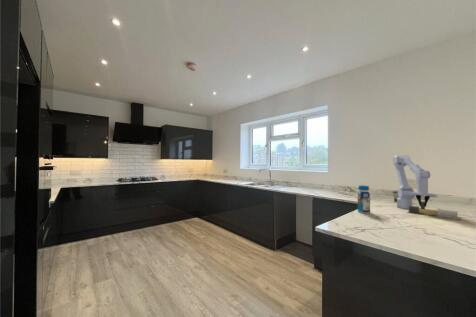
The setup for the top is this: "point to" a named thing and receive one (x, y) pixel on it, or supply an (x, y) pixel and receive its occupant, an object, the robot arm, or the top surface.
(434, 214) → the base board
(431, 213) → the inner sliding bolt
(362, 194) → the beverage bottle
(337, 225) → the top surface
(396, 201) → the food container
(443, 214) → the sleeve
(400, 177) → the robot arm
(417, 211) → the socket
